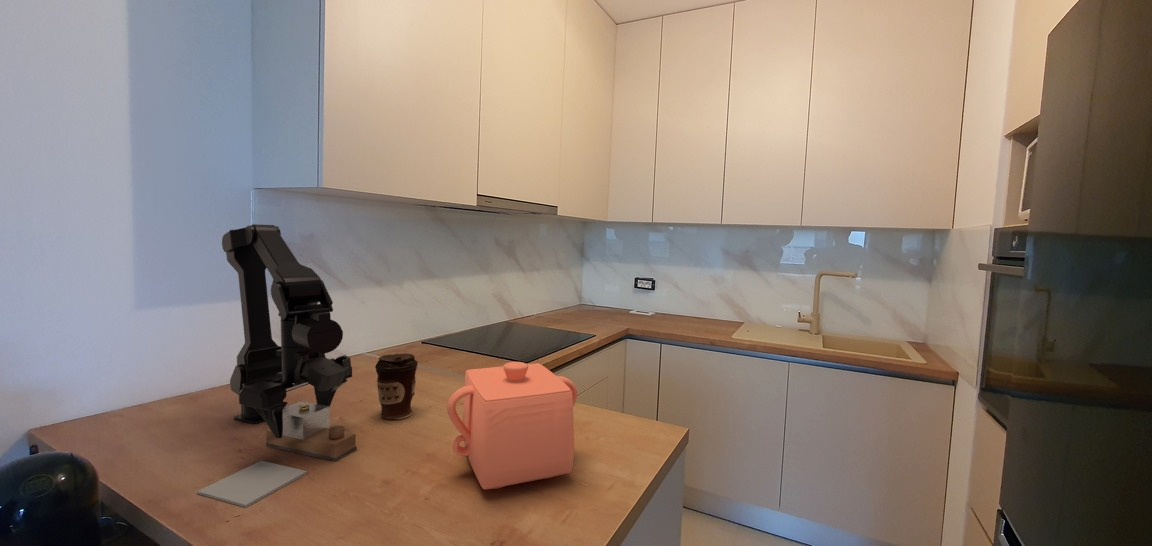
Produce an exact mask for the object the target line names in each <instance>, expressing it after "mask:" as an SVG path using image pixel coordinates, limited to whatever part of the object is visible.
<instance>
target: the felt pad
mask: <svg viewBox="0 0 1152 546" xmlns="http://www.w3.org/2000/svg"><path fill="white" fill-rule="evenodd" d="M307 474H308V471H307V470H303V469H300V468H295V467H292V466H291V467H290V466H286V465H281V464H278V463H274V462H270V461H266V460H259V461H257V462H256V463H254V464H251V465H249V466H247V467H245V468H243V469H241V470H239V471H237V472H235V473H232V474H229V475H228V476H226V477H224V478H221V479H219V480H218V481H216V482H213V483H211V484H210V485H207V486H205V487H203V488H201V489H199V490H197V491H196V494H197V495H200V496H204V497H207V498H211V499H215V500H218V501H220V502H221V501H222V502H225V503H228V504H231V505H235V506H239V507H242V508H248V507H250V506H252V505H254V504H255V503H257V502H258V501H260V500H262V499H264V498H266V497H268V496H270V495H271V494H273V493H275V492H277V491H279V490H280V489H282V488H283V487H285V486H288V485H290V484H291V483H292V482H294V481H296V480H298V479H301V478H302V477H304V476H305V475H307Z"/></svg>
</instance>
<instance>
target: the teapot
mask: <svg viewBox="0 0 1152 546" xmlns="http://www.w3.org/2000/svg"><path fill="white" fill-rule="evenodd" d="M464 377H465V378H464V379H465V380H464V386H462V387H460V388H459V389H457V390H455V391H454V392H453V393H452V395H451V396H450V397H449V399H448V401H447V403H446V404H447V405H446V410H447V415H448V417H449V420H450V422H451V423H452V424H453V426H454V427H455V429H456V430H457V431H458V432H459V433H460V435H458V436H456V437H455V438H454V440H453V443H452V449H453V451H454V453H455V455H457V456H459V457H467V458H468V461H469V464H470V466H471V468H472V471H473V472H474V474H475V477H476V480H477V481H478V483H479V484H480V487H481V489H483V490H484V491H485V490H492V489H493V490H495V489H496V490H497V489H501V488H504V487H507V486H513V485H518V484H521V483H522V484H523V483H528V482H533V481H538V480H543V479H552V478H554V477H557V476H562V475H567V474H571V473H572V472H573V467H574V466H573V465H574V458H575V457H574V455H575V428H574V427H575V425H574V419H575V418H574V407H575V404H576V403H577V399H578V389H577V386H576V385H575V383H574V382H573V381H572V380H571V379H569V378H567V377H566V376H563V375H556V374H554V372H552V371H551V370H549V369H548V368H547V367H545V366H544V365H543V364H540V363H528V364H527V363H525V362H521V361H510V362H506V363H505V364H503V365H501V366H494V367H493V366H492V367H491V366H490V367H483V368H482V367H481V368H474V369H473V368H471V369H466V371H465V376H464ZM462 399H463V407H462V408H463V410H462V411H463V412H462V420H461V418H460V416H459V415H458V412H457V410H456V409H457V408H456V406H457V403H458V402H459V401H460V400H462ZM462 442H463V444H464V446H461V445H460V443H462Z"/></svg>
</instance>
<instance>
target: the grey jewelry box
mask: <svg viewBox="0 0 1152 546" xmlns="http://www.w3.org/2000/svg"><path fill="white" fill-rule="evenodd" d="M282 412H283V433H282V435H283V436H288V437H293V438H298V439H303V440H304V439H306V438H308V437H310V436H312V435H314V434H316V433H319V432H321V431H323V430H325V429H327V428H331V426H330V425H331V423H330V408H329V406H324V405H319V404H317V403H313V402H306V401H299V402H296V403H293V404H290V405H288V406H287V405H286V406H285V407H284V409H283V411H282Z"/></svg>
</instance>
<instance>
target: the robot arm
mask: <svg viewBox="0 0 1152 546" xmlns="http://www.w3.org/2000/svg"><path fill="white" fill-rule="evenodd" d="M281 235H282V233H281V229H280V227H279V226H278V225H277V226H276V225H275V224H255V223H254V224H253V223H251V225H247V226H246V227H243V228H242V227H241V228H238V229H230V230H228V231H227V232H226V233H225V234H223V236H222V237H221V238H222V239H221V245H222V250H223V252H224V253H225V255H226V261H227V262H228V263H229V265H230V266H231V267H232V268H233V269H234V270H235V272H237V276H238V285H239V295H240V305H241V315H242V317H241V318H242V324H243V334H244V344H243V346H242V347H241V348H240V351H239V352H238V354H237V356H236V365H235V367H234V370H233V372H232V374H231V376H230V380H229V384H230V390H231V391H232V393H234V394H236V395H237V396H238V404H239V405H240V412H241V413H240V414H238V415H235V416H234V417H233V420H236V421H239V422H246V423H251V424H259V423H261V422H265V423H266V425H267V426H268V429H270V430H271V431H272V433H273V434H274V436H275V437H276V438H282V433H283V412H282V411H283V409H284V407H287V405H288V402H287V401H284V400H285V399H286V397H287V392H290V391H293V390H296V389H299V388H301V387H304V386H307V385H310V386H312V387H313V389H314V394H315V401H316V404H319V405H324V406H329V409H330V408H331V405H332V402H333V399H334V397H335V395H336V393H337V390H338V389H339V388H341V386H342V385H344V384H346V383H347V382H348V379H349V378H352V377H353V367H352V362H351V361H352V360H351V357H349V356H347V355H345V354H344V355H341V356H337V357H336V358H335V357H333V358H327V357H326V354H328V353H331V352H333V351H335V350H336V349H337V348H338V347H339V346H340V345H341V343H342V341H343V337H344V331H343V329H342V327H341V325H340V323H338V322H337V321H336V320H333V319H331V318H332V317H331V313H333V312H334V309H333V303H334V302H333V299H332V298H331V295H330V294H329V291H328V289H327V287H326V284H325V283H324V281H323V280H322V278H321V277H320V276H319V274H317V273H316V272H315V271H314V269H313V268H311V267H308V266H306V265H303V264H301V263H300V262H299V261H298V259H297V258H296V256H295V255H294V253H293V252H292V250H291V248H290V247H289V246H288V244H287V243H286V242H285V240H284V238H283V237H282V236H281ZM266 270H267V271H268V272H269V274H270V275H271V277H272V282H271V286H270V295H271V298H272V301H273V303H274V304H275V306H276V309H277V311H278V317H280V345H278V343H276V342H275V341H274V340H273V336H272V326H271V318H270V317H271V316H270V307H269V306H270V305H269V297H268V296H269V295H268V286H267V285H268V284H267V279H266V278H267V277H266Z"/></svg>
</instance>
